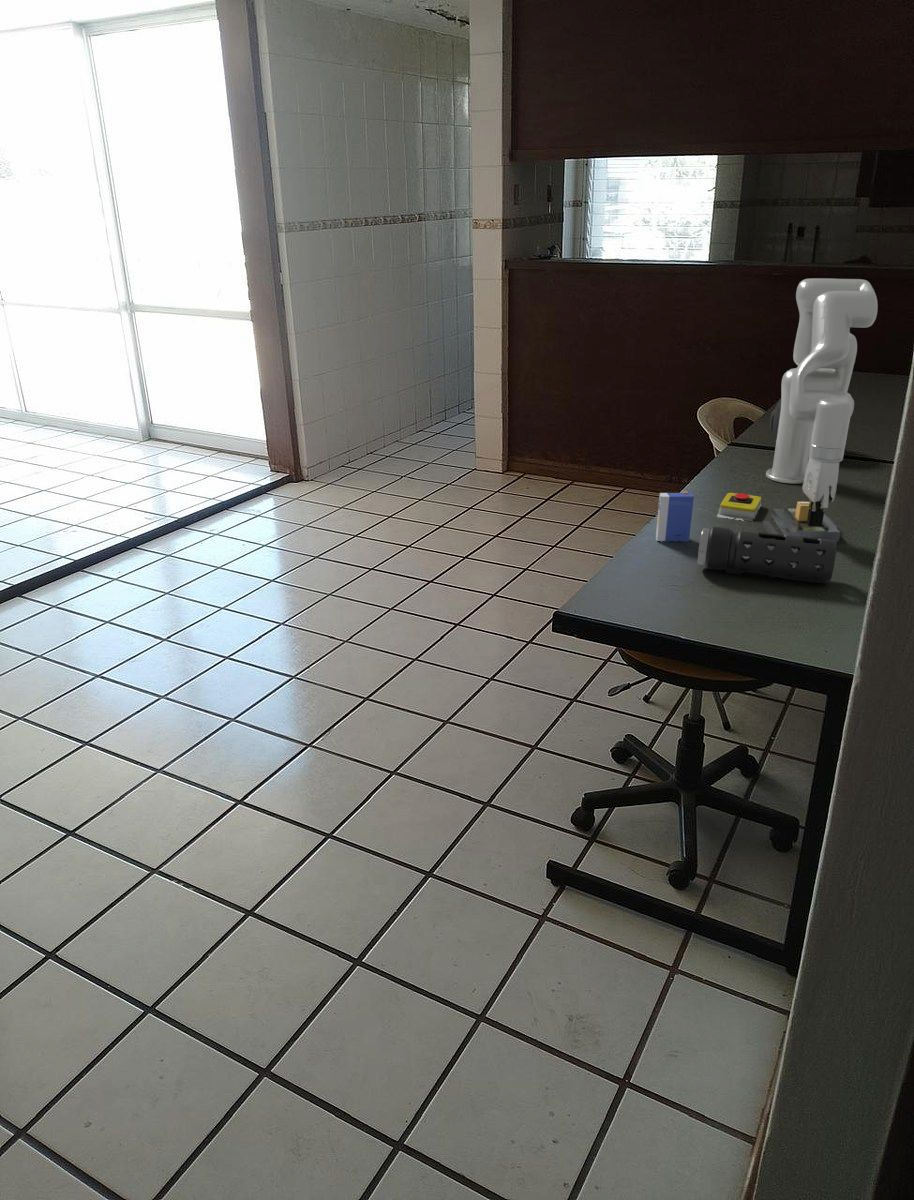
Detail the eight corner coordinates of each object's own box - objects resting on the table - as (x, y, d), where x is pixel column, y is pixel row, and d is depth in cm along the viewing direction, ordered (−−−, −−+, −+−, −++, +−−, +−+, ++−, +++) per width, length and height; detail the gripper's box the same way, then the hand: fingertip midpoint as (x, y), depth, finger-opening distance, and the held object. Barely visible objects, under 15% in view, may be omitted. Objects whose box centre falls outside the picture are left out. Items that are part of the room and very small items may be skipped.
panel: (771, 517, 234) (773, 506, 232) (818, 518, 233) (820, 507, 232) (788, 541, 219) (790, 529, 218) (838, 541, 219) (840, 529, 217)
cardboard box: (794, 516, 226) (797, 500, 225) (812, 516, 226) (815, 500, 224) (798, 520, 224) (801, 504, 222) (816, 521, 223) (819, 504, 222)
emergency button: (764, 490, 241) (754, 508, 229) (762, 506, 243) (752, 524, 231) (728, 486, 245) (717, 503, 233) (727, 501, 247) (715, 519, 235)
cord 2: (822, 521, 231) (822, 516, 231) (827, 521, 231) (828, 516, 231) (832, 532, 224) (832, 527, 223) (837, 532, 224) (838, 527, 223)
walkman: (686, 537, 222) (691, 491, 217) (688, 541, 220) (694, 495, 214) (654, 537, 222) (658, 491, 217) (656, 542, 220) (660, 495, 215)
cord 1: (762, 526, 228) (763, 520, 228) (768, 526, 228) (769, 521, 228) (777, 547, 216) (778, 541, 215) (783, 547, 216) (784, 541, 215)
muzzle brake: (829, 593, 193) (837, 548, 188) (695, 577, 201) (700, 533, 197) (828, 576, 201) (836, 532, 197) (699, 561, 209) (704, 519, 205)
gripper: (801, 443, 218) (789, 514, 226) (820, 461, 204) (807, 536, 212) (832, 443, 217) (820, 514, 225) (853, 461, 204) (839, 537, 212)
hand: (813, 525), depth 219 cm, fingers closed
